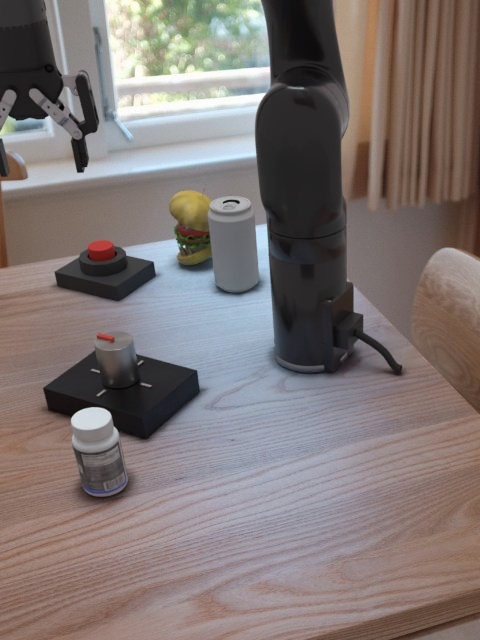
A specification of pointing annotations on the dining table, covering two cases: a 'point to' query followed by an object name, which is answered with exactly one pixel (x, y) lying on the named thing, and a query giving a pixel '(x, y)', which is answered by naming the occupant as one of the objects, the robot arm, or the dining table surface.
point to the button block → (106, 274)
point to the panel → (125, 394)
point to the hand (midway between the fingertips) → (43, 172)
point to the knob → (117, 359)
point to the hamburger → (191, 226)
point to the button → (101, 250)
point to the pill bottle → (98, 452)
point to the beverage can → (233, 243)
